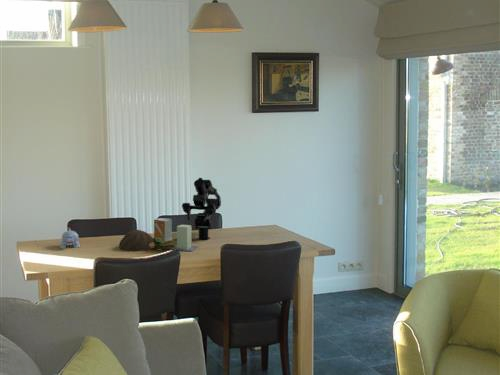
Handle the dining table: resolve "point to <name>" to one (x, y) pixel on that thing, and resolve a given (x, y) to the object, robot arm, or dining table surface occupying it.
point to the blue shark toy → (69, 239)
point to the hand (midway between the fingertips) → (196, 220)
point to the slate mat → (185, 249)
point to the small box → (163, 228)
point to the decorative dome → (136, 241)
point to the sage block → (184, 236)
